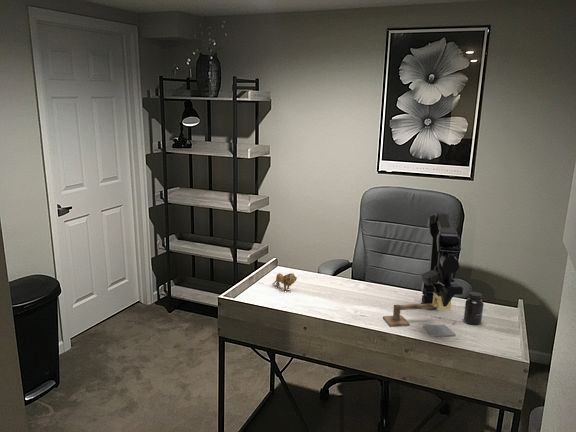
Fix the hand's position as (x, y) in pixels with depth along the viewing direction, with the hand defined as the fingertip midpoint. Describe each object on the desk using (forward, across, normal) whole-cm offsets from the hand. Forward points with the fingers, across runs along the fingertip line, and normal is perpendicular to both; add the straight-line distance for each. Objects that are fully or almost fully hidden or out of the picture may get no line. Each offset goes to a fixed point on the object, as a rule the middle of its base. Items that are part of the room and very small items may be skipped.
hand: (441, 303), depth 182 cm
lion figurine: (+12, -51, -52) cm, 74 cm away
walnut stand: (+11, -10, -7) cm, 17 cm away
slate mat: (+11, 0, 0) cm, 11 cm away
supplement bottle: (+12, -7, +18) cm, 22 cm away
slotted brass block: (+2, 0, 0) cm, 2 cm away
